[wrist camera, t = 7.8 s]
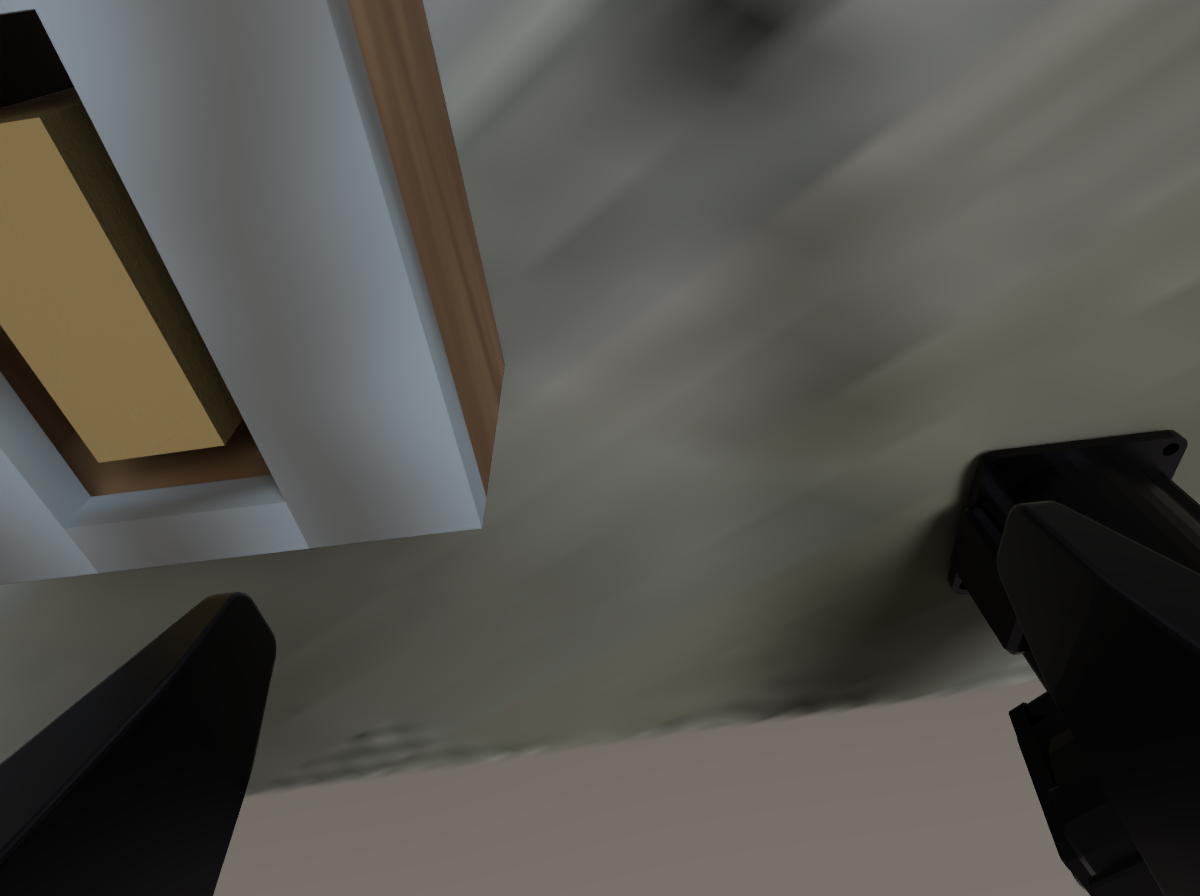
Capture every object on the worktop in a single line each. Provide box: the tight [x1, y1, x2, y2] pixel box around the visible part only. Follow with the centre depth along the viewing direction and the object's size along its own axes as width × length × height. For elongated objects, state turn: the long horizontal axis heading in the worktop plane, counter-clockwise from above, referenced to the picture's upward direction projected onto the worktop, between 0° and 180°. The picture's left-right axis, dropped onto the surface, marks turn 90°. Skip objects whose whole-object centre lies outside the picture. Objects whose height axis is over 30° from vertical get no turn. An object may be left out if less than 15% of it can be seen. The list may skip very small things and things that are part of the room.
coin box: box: [0, 0, 505, 585], centre depth 14 cm, size 12×11×7 cm
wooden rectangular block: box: [0, 87, 243, 463], centre depth 15 cm, size 3×6×6 cm, turn 8°
